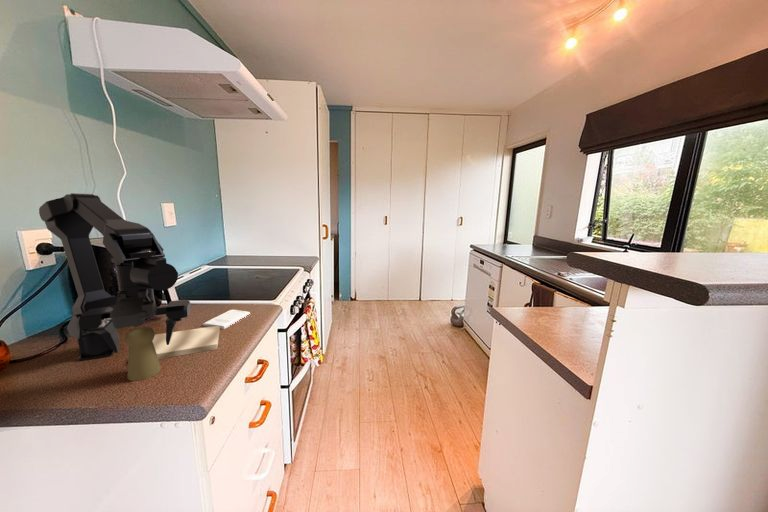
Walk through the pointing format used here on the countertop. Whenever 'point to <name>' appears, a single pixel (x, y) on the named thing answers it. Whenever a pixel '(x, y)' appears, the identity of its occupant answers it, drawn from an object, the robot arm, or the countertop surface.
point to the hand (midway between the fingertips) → (143, 347)
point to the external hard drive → (226, 319)
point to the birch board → (187, 342)
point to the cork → (141, 354)
